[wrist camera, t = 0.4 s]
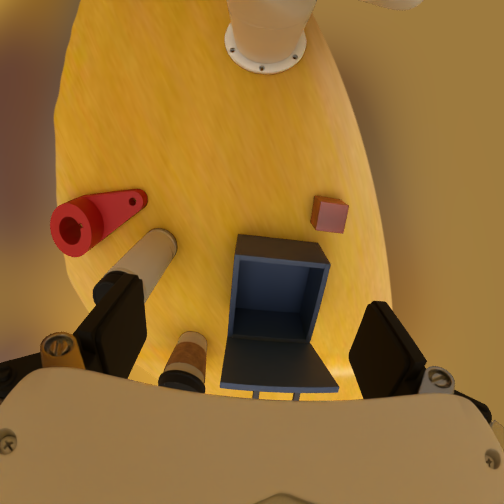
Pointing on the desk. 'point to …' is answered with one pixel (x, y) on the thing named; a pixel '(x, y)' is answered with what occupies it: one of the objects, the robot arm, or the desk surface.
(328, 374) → the lid
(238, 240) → the dark grey hollow box
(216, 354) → the desk surface
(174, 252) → the travel mug
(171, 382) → the coffee cup
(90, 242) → the lever
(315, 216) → the block
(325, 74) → the desk surface
